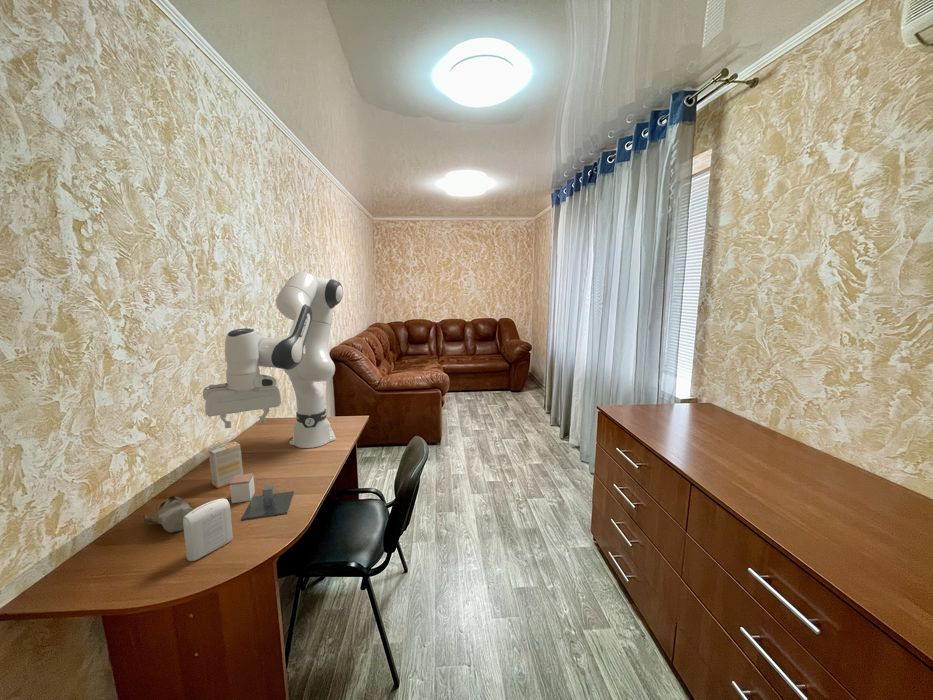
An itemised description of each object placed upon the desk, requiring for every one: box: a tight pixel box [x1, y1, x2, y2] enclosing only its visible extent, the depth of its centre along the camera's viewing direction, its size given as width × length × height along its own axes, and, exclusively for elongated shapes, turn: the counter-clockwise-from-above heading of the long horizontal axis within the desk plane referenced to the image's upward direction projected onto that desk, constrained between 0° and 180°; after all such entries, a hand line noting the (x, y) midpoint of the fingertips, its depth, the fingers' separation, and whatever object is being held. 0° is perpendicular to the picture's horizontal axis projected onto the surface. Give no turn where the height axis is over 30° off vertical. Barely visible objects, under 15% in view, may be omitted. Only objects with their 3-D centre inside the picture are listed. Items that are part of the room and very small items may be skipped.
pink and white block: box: [229, 473, 256, 504], centre depth 116 cm, size 5×5×7 cm
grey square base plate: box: [241, 484, 295, 521], centre depth 112 cm, size 12×12×6 cm
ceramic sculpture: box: [142, 495, 194, 533], centre depth 103 cm, size 11×9×15 cm
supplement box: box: [208, 441, 244, 489], centre depth 125 cm, size 8×5×13 cm, turn 145°
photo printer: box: [183, 498, 234, 562], centre depth 93 cm, size 10×4×12 cm, turn 152°
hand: (245, 424), depth 114 cm, fingers open, 8 cm apart
